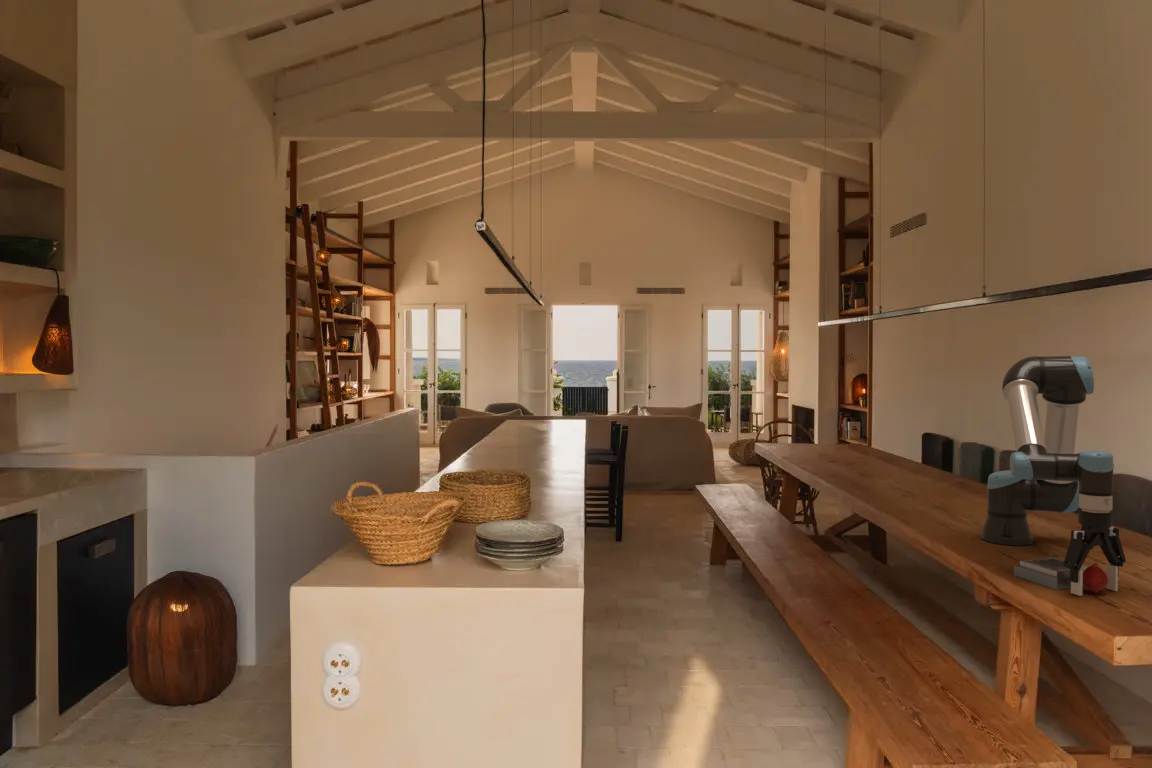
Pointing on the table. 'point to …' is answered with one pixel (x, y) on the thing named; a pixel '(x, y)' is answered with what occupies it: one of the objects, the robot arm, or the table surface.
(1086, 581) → the onion
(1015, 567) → the silver shallow square tray
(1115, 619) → the table surface
